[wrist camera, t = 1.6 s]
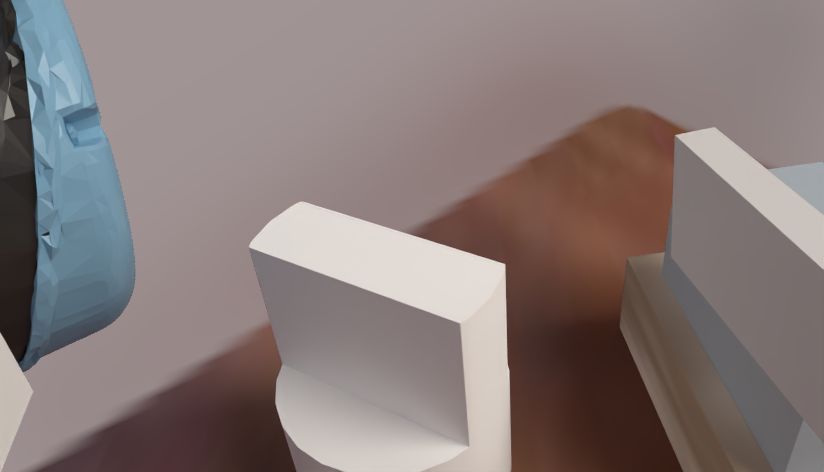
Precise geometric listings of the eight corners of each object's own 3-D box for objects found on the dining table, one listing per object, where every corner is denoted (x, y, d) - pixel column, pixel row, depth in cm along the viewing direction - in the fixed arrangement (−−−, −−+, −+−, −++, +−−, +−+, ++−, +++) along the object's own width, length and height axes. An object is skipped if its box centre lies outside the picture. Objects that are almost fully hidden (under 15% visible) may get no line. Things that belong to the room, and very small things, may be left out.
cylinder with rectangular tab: (546, 432, 34) (551, 215, 27) (445, 610, 28) (416, 397, 21) (377, 363, 38) (342, 159, 31) (260, 506, 32) (181, 297, 25)
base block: (726, 580, 28) (750, 504, 25) (618, 333, 39) (627, 257, 36) (1067, 532, 29) (1132, 451, 26) (870, 299, 39) (900, 221, 36)
